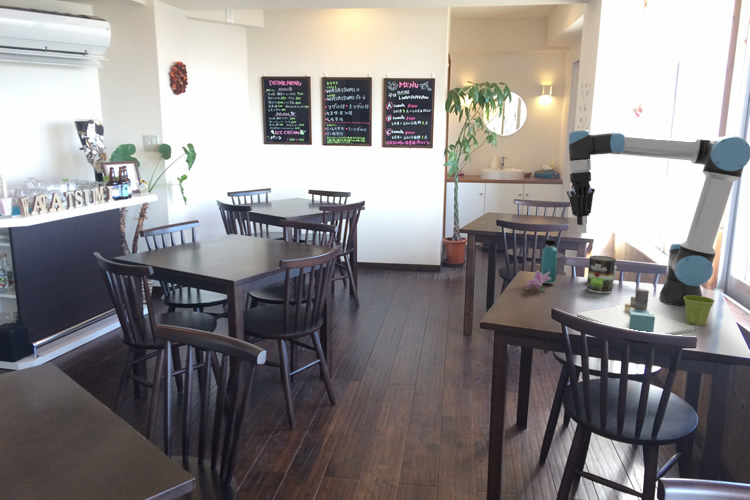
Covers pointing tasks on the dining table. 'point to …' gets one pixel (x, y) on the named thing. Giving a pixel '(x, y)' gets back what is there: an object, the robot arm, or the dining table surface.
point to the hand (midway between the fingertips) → (582, 232)
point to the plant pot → (697, 309)
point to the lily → (538, 280)
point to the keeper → (641, 320)
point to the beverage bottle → (549, 260)
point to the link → (638, 300)
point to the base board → (622, 317)
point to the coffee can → (601, 274)
